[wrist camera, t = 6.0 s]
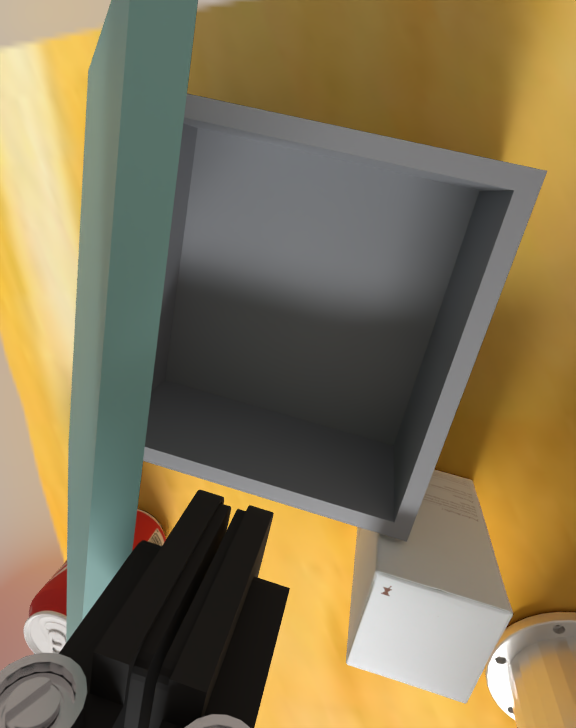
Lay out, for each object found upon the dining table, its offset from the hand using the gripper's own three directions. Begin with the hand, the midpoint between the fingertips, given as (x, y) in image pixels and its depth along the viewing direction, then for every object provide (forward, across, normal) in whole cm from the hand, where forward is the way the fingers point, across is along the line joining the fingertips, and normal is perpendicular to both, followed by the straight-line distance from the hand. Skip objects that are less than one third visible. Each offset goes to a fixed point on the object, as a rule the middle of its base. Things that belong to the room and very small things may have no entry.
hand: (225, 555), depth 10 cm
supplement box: (+26, -10, +14) cm, 31 cm away
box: (+26, +3, 0) cm, 26 cm away
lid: (+7, +7, 0) cm, 10 cm away
